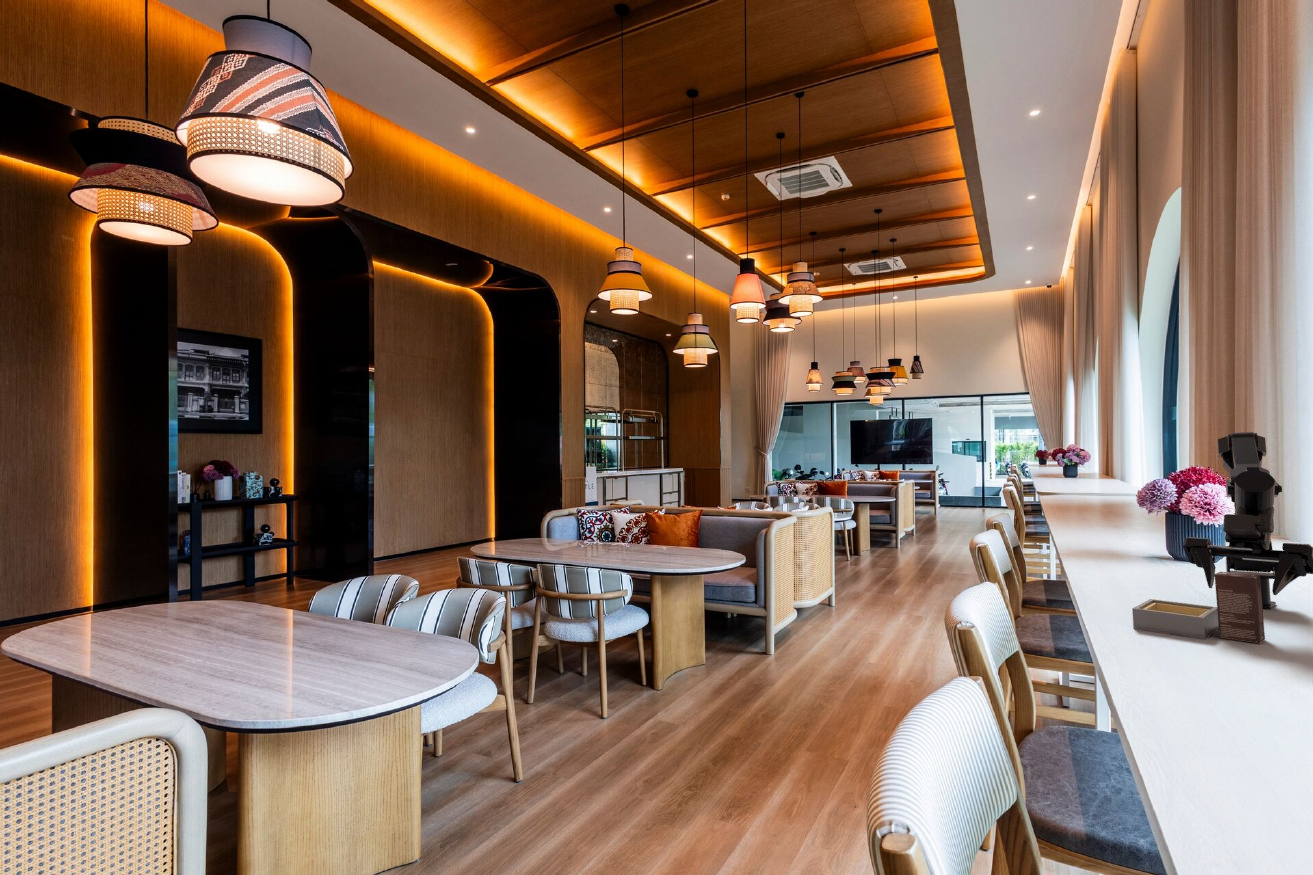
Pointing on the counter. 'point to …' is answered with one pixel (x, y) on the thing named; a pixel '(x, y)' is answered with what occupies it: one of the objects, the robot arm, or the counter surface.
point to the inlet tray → (1176, 618)
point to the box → (1240, 606)
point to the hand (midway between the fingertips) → (1241, 590)
